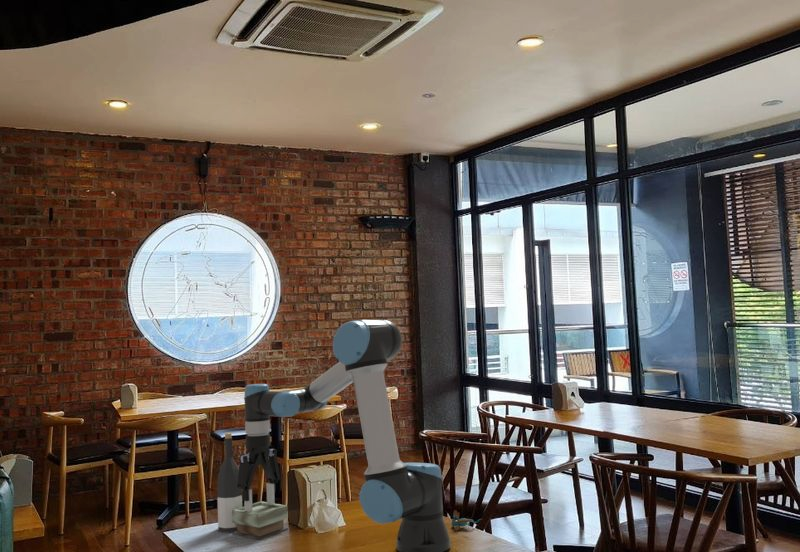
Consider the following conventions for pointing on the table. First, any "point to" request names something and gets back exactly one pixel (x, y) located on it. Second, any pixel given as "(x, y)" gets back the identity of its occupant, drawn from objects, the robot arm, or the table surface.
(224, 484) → the wine bottle
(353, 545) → the table surface
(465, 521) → the dragon figurine
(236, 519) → the two-tone layered tray
